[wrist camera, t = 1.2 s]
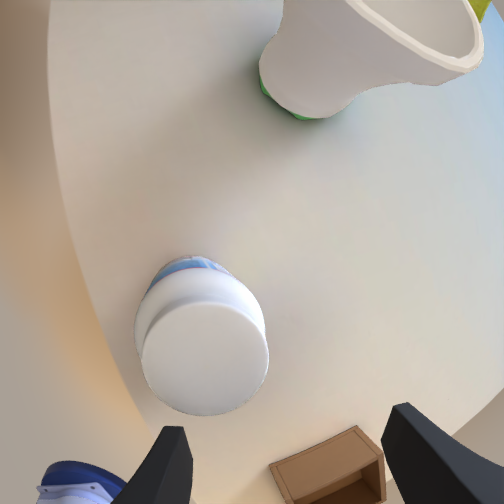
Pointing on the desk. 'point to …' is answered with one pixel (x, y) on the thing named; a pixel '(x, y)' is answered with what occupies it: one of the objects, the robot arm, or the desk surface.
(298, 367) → the desk surface
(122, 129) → the desk surface
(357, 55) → the cup
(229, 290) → the pill bottle
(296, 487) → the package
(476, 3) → the fruit
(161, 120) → the desk surface
